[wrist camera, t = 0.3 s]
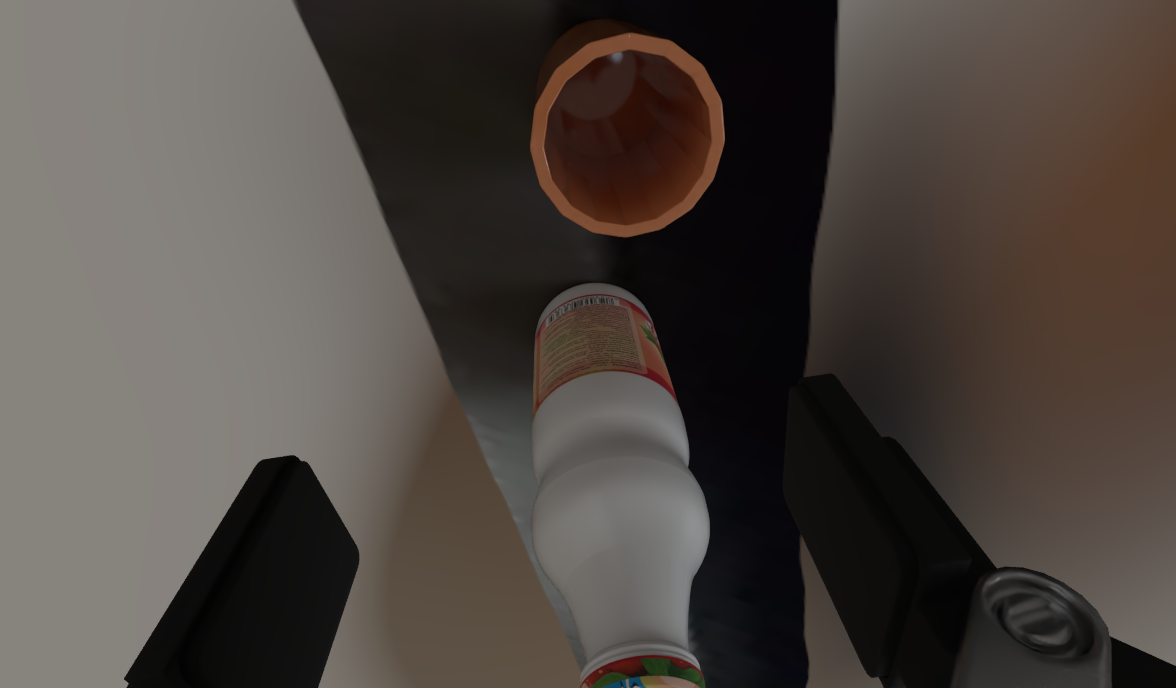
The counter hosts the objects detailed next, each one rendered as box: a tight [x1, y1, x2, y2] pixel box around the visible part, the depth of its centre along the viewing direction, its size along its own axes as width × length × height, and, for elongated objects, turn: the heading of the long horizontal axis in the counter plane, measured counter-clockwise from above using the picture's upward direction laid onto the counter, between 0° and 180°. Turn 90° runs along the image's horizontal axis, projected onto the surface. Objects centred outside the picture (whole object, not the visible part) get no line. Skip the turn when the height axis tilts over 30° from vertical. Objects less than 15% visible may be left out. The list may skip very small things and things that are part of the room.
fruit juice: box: [531, 283, 710, 688], centre depth 33 cm, size 9×9×28 cm
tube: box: [530, 18, 725, 237], centre depth 29 cm, size 8×8×13 cm
